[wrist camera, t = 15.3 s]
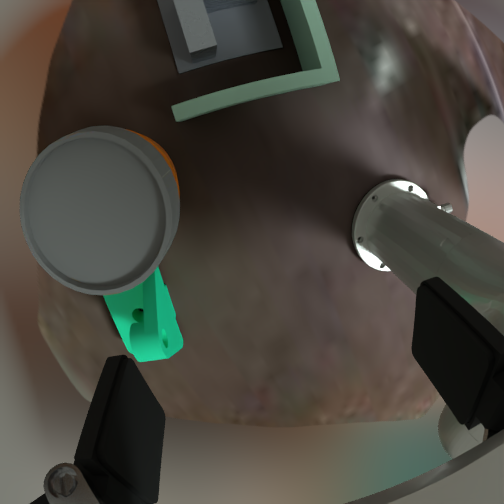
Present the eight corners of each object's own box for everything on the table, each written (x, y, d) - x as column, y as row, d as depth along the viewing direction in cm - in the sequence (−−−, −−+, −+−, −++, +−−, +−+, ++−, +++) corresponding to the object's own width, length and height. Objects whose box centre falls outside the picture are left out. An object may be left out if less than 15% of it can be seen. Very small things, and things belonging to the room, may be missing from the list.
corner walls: (271, -56, 24) (281, -80, 18) (319, 85, 32) (340, 80, 26) (138, -26, 24) (127, -48, 18) (181, 121, 32) (176, 121, 26)
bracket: (174, 3, 26) (168, -17, 20) (249, -15, 26) (257, -37, 20) (192, 64, 29) (189, 52, 24) (269, 44, 29) (281, 30, 24)
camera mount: (102, 269, 37) (75, 314, 28) (157, 257, 38) (143, 303, 28) (133, 343, 42) (120, 396, 33) (183, 335, 43) (180, 389, 33)
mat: (255, -31, 25) (255, -32, 25) (282, 47, 30) (282, 47, 29) (155, -7, 25) (154, -8, 25) (179, 73, 30) (178, 73, 29)
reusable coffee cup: (68, 201, 33) (2, 251, 20) (114, 104, 30) (53, 98, 16) (157, 249, 37) (133, 324, 23) (210, 156, 34) (211, 182, 20)
